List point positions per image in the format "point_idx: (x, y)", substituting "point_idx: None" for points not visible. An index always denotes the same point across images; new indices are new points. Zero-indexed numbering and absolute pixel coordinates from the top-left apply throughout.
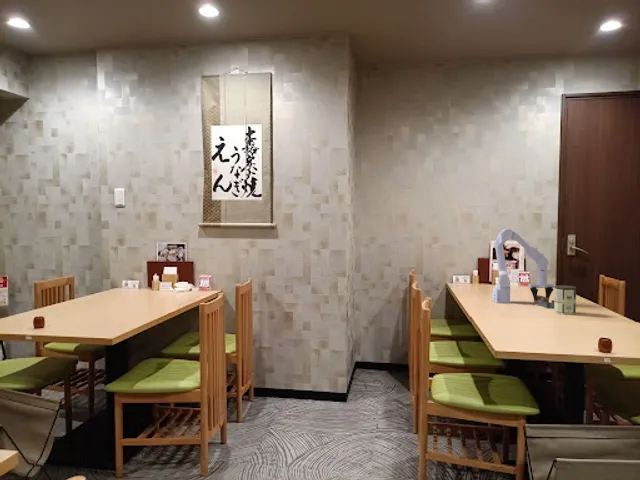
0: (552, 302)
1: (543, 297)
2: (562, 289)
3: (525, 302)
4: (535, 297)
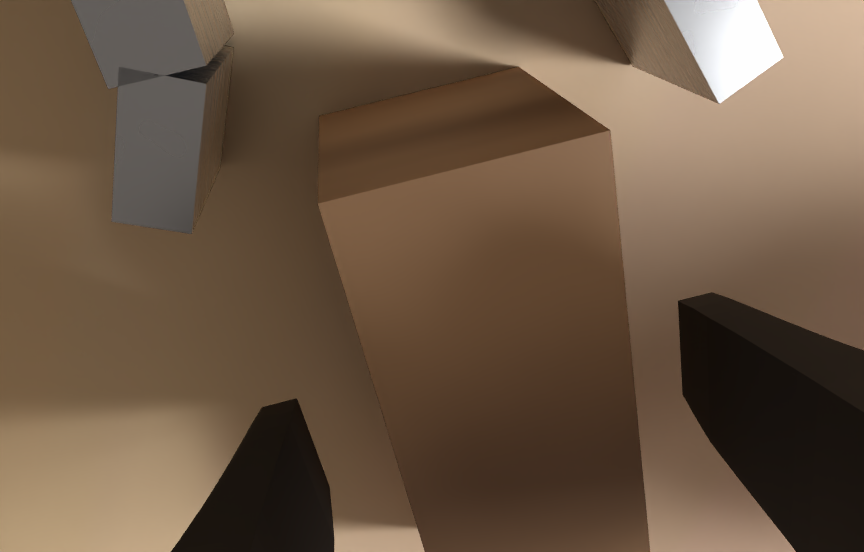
0: (202, 8)
1: (524, 302)
2: None
3: None
4: (791, 332)
